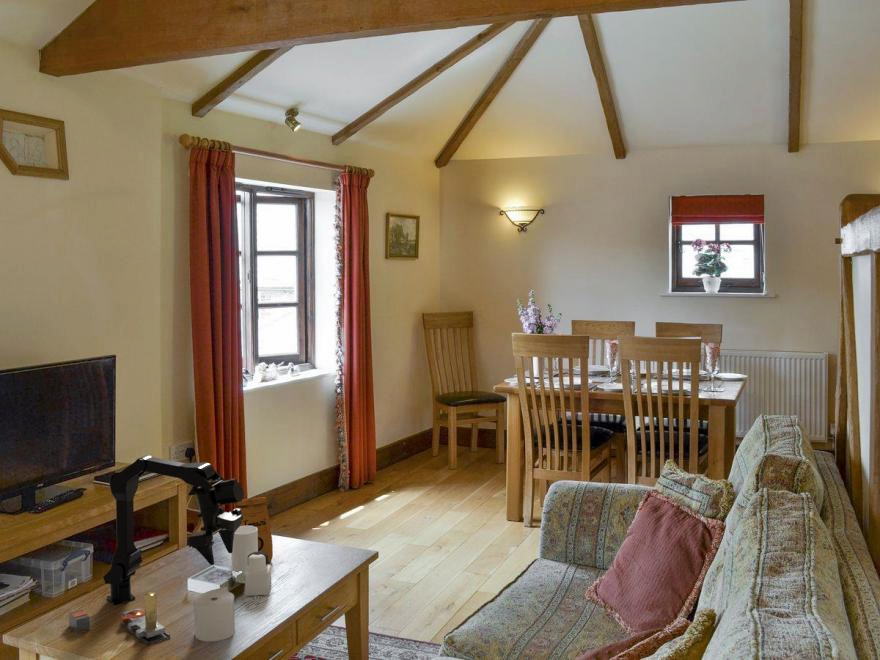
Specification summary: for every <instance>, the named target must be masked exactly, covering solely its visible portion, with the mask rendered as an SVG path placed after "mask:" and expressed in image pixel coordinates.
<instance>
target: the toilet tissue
mask: <svg viewBox="0 0 880 660" xmlns="http://www.w3.org/2000/svg"><path fill="white" fill-rule="evenodd" d="M193 612H194V614H193V616H194V622H193V623H194V636H195V638H196V639H197V640H199V641H202V642H211V643H212V642H220V641H224V640H226V639H229V638H231V637H232V636H233V635H234V634H235V631H236V629H235V627H236V625H235V624H236V623H235V621H236V620H235V595H234V593H232V592H230V591H229V590H228V586H225V587H219V588H216V589H210V590H208V591H205V592H202V593H200V594H198V595H197V596H196V597H195V598H194V599H193Z"/></svg>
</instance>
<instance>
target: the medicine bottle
mask: <svg viewBox="0 0 880 660" xmlns="http://www.w3.org/2000/svg"><path fill="white" fill-rule="evenodd" d="M271 588H272V565H271V564H269V562H268V555H267V553H265V552H260V551H258V552H253V553H251V554H249V555H248V567H247V570H246V572H245V583H244V595H245V597H255V596H256V597H259V596H258V595H264V596H269V595H270V593H271Z"/></svg>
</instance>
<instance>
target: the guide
mask: <svg viewBox="0 0 880 660" xmlns="http://www.w3.org/2000/svg"><path fill="white" fill-rule="evenodd" d="M120 624H121V625H122V626H123V627H124V628H125V629H126V630H128V631H129V632H130V633H131V634H133V636H135V638H137V639H138V640H139V641H140V640H141V641H140V642H142V643H143V645H145V646H150V645H154V644H156V642H157V643H159V642H158V641H160V640H163V641H165V640H164V639H166V640H168V639H167V638H170V639H171V634H170V633H169V632H167V631H166V630H165V633H162V634H159V635H156V636H152V637H149V638H146V637H145V636H144V637H141V638H138V637H137V636H136V630H137V629H136V630H133V631H130V630H129V629H128V623H126V624H122V623H121V622H120ZM160 642H161V641H160ZM153 643H154V644H153Z"/></svg>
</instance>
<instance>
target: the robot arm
mask: <svg viewBox="0 0 880 660" xmlns="http://www.w3.org/2000/svg"><path fill="white" fill-rule="evenodd" d="M146 472H147V473H149V474H150V473H152V474H156V475H162V476H166V477H172V478H175V479H179V480H182V482H184V483H185V484H188V485H190V486H192V487H191V490H190V491H189V492H188V496H194V495H195V497H196V501H197V505H198V508H199V512H198V513H197V518H201V521H202V522H201V523H202V526H201V527H200V532H199V531H197V532H195V533H193V534H191V535H190V536H189V535H188V536H189V537H188V538H187V544H188V547H190V548H192V549H195V550H197V552H199V554H200V555H201V556H202V558H204V559H205V561H207V563H208V564H209V565H211V566H213V565H215V558H214V553H213V552H214V551H213V545H214V544H215V540H213V538H214V535H215V534H219V536H220V538H221V540H222V542H223V545H224V547H225V549H226V551H227V553H228V554H232V551H233V540H234V533H235V532H236V530H237V529H238V528H239V527H240V524H241V520H243V517H242V512H241V509H235V508H234V509H233V510H232V511H229V512H227V511H226V510H225V509H226V508H224V505H229V504H234V503H236V502H241V501H242V500H244V488H243V486H242V485H241V483H240V482H239V481H238V480H237V478H236V477H235V478H231V479H227V480H225V478H224V477H223V476H221V475H220V474H219V473H218V472H217V471H216V469H215V468H214V467H213V464H212V463H209V462H190V463H187V462H186V463H184V462H181V461H180V462H179V461H173V460H169V459H165V458H159V457H154V456H152V455H147V454H146V455H144V456H141V457H139V458H137V459H135V461H134V462H132V463H131V464H129V465H128V466H127V467H125V468H123V469H121V470H118V471H116V472H114V473H112V475H111V476H109V488H110V493H111V495H112V497H114V499H115V509H116V511H115V512H116V513H115V519H116V522H115V525H116V549H115V551H114V553H113V555H112V558H111V563H110V569H109V570H108V571H107V572H106V573H105V575H104V576H103V577H102V579H103V581H104V584H107V585H109V586H110V588H109V589H110V595H107V596H106V600H108V601H109V602H110V603H112V604H113V605H117V604H122V603H125V602H130V601H133V600H136V596H134V595H133V594H132V593H131V592H132V589H131V588H132V586H131V581H132V580H131V577H133V576H134V575H136V572H137V570H139V568H140V566H141V563H143V559H142V553H143V552H142V549H137V547H136V545H135V532H134V531H135V523H134V522H135V521H134V515H135V514H134V498H135V496H136V493H137V491H138V488H139V482H140V478H141V477H142V476H143V475H144V474H145V473H146ZM220 505H221V506H220ZM222 505H223V506H222Z"/></svg>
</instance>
